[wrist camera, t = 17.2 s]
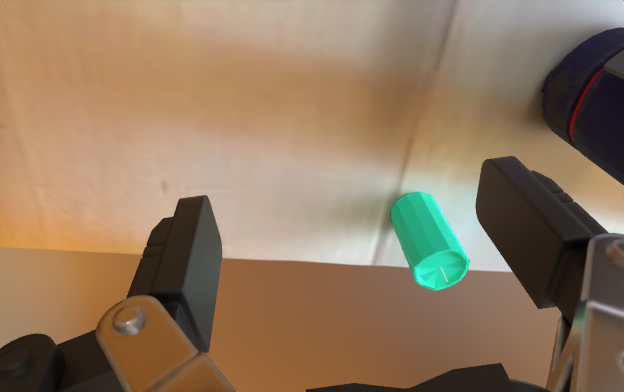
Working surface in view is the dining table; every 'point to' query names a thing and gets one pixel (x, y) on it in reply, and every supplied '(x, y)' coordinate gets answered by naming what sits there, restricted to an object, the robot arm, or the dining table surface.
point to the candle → (428, 242)
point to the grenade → (590, 100)
